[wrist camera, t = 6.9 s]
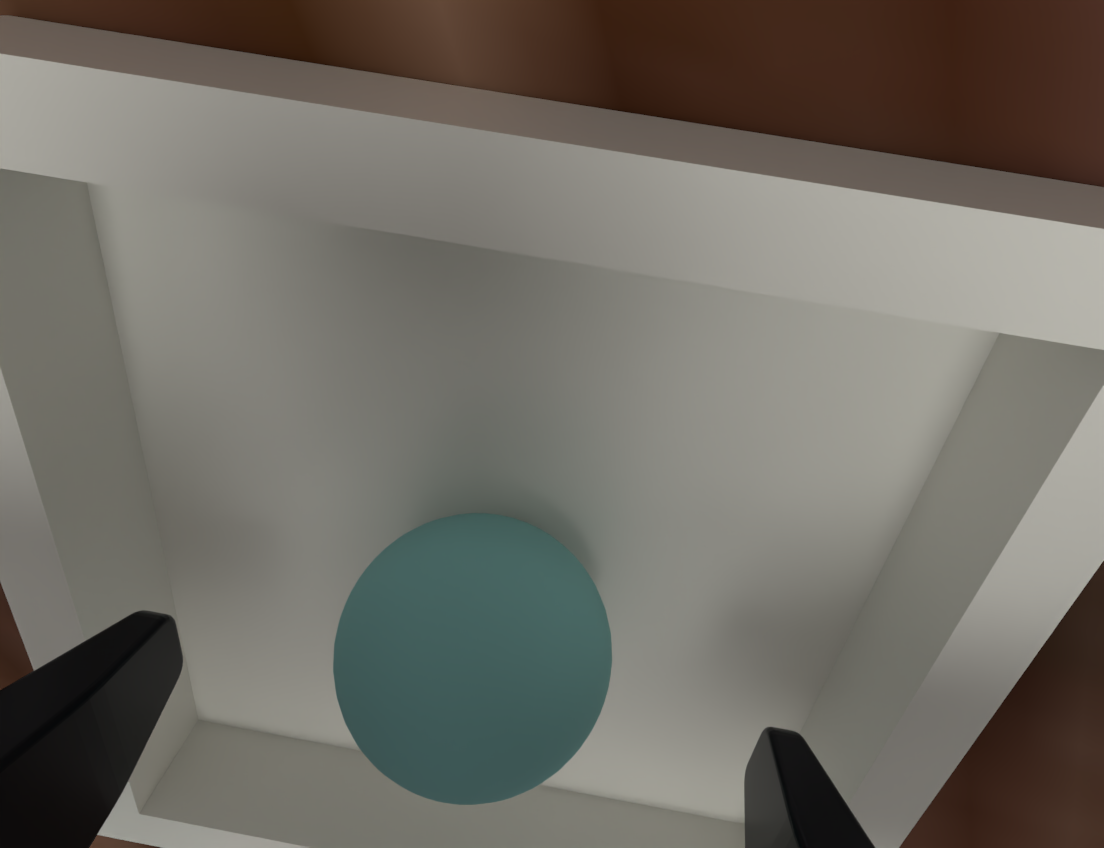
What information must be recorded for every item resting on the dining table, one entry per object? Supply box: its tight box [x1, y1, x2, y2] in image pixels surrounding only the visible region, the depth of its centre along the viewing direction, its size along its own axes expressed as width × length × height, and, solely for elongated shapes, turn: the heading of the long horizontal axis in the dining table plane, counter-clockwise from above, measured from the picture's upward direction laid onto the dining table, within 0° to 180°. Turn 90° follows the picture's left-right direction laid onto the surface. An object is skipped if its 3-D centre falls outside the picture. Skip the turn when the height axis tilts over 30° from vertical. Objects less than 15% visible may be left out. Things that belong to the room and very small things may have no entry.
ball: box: [333, 513, 612, 805], centre depth 9 cm, size 4×4×4 cm
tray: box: [0, 16, 1104, 848], centre depth 10 cm, size 13×13×2 cm
